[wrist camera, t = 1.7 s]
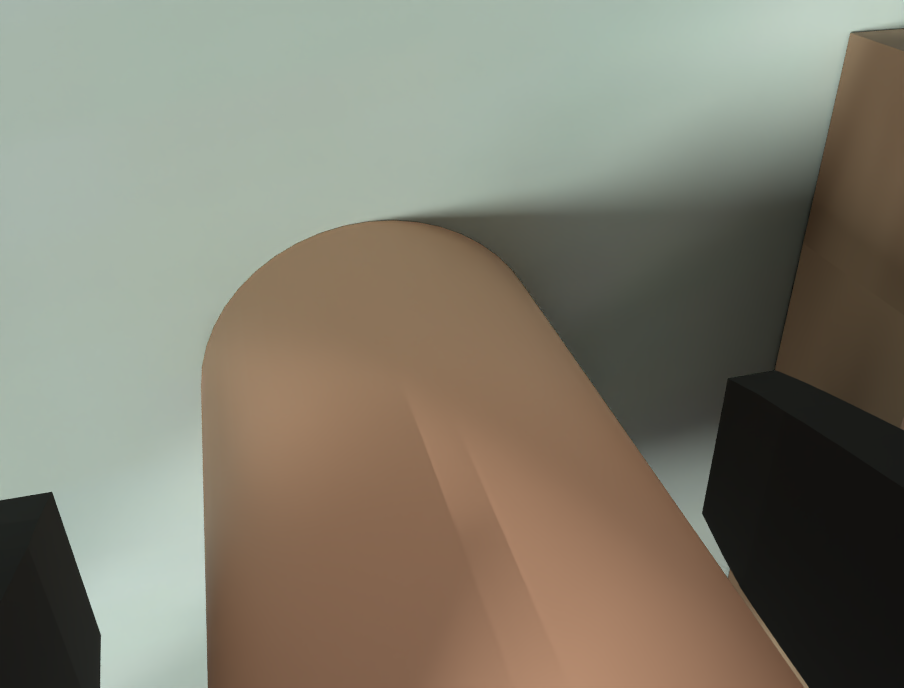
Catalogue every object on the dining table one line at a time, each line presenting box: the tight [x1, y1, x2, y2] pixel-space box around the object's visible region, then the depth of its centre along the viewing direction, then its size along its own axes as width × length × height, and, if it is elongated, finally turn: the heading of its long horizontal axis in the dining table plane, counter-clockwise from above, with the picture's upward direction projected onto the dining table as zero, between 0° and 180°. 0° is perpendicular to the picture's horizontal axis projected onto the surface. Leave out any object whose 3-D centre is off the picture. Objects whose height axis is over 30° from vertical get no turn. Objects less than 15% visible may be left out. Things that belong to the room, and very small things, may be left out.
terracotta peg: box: [201, 220, 804, 688], centre depth 9 cm, size 4×4×7 cm
